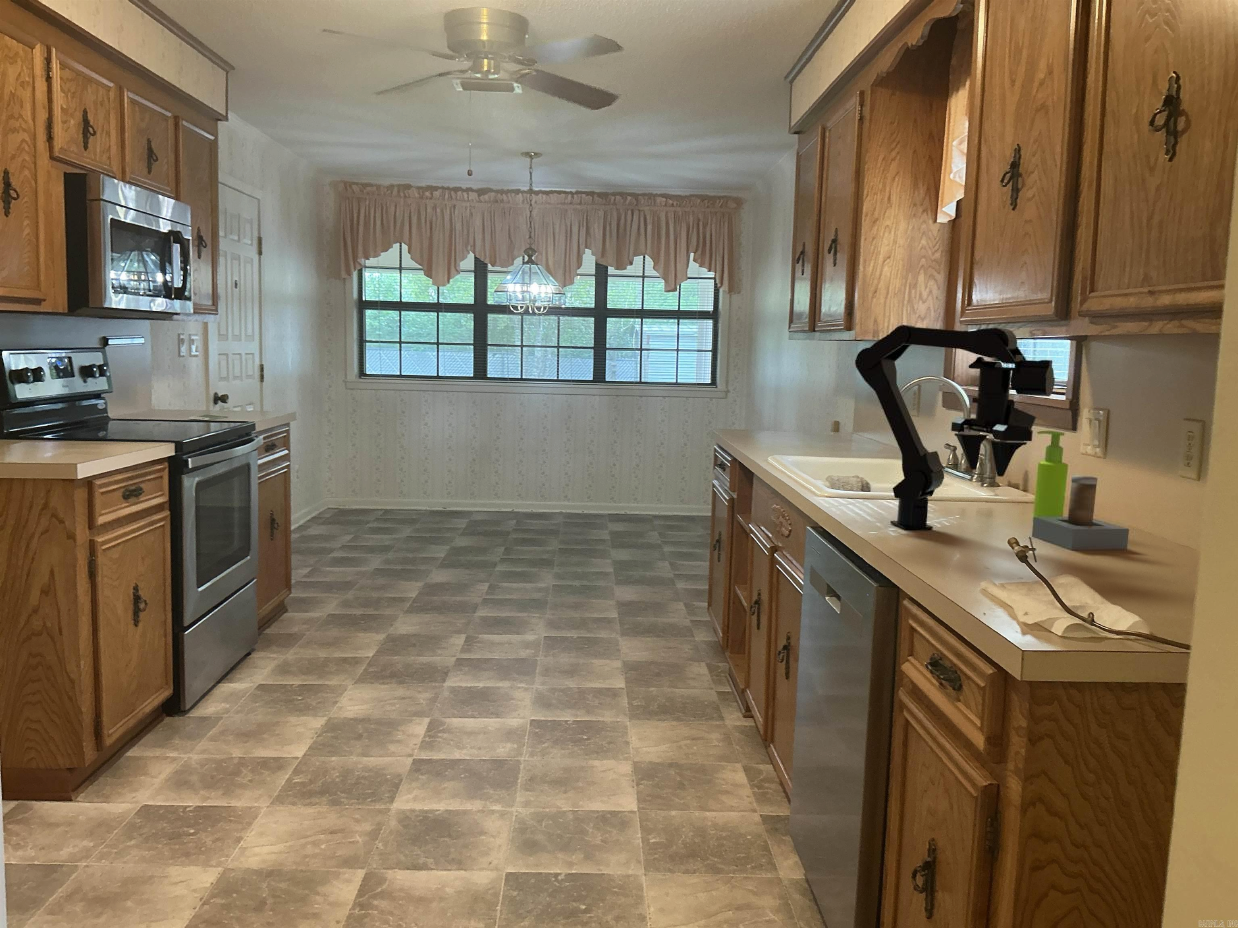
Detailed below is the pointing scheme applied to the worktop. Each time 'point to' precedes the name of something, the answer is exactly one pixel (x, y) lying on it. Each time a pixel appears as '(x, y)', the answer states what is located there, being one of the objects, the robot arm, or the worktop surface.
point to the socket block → (1080, 534)
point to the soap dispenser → (1051, 480)
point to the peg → (1082, 500)
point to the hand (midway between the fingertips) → (986, 472)
